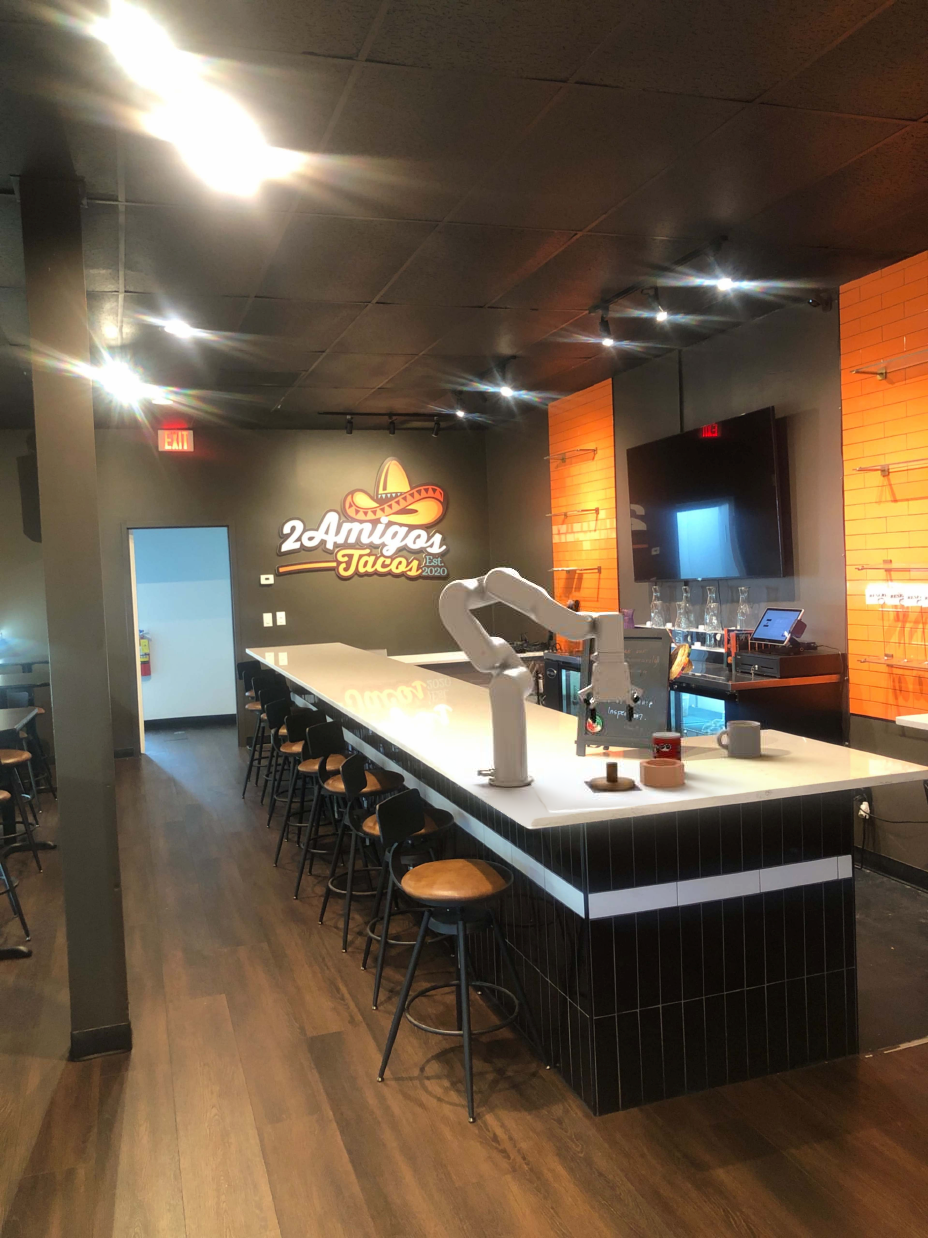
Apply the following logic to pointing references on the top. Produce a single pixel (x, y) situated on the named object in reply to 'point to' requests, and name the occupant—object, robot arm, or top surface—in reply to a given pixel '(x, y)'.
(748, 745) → the coffee mug
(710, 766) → the top surface
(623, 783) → the lid
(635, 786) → the mat
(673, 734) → the canned food
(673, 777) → the bowl
